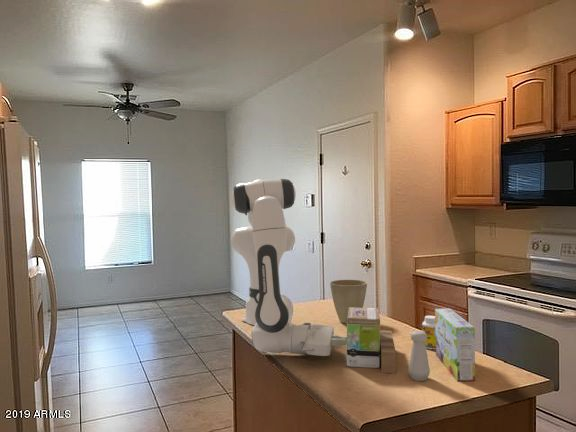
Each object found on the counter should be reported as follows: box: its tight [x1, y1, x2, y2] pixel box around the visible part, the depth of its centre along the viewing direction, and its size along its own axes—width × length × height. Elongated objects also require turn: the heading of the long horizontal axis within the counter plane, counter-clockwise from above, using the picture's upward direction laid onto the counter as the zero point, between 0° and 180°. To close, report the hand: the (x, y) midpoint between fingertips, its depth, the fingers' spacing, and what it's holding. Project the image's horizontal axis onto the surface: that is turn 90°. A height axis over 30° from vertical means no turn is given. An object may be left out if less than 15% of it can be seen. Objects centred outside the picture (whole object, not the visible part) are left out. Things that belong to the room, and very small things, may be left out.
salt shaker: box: [407, 330, 431, 382], centre depth 129 cm, size 6×6×13 cm
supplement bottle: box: [421, 315, 436, 350], centre depth 156 cm, size 6×6×10 cm
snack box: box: [434, 308, 476, 382], centre depth 137 cm, size 21×6×15 cm, turn 178°
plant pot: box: [329, 279, 368, 325], centre depth 189 cm, size 15×15×16 cm
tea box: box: [346, 307, 381, 369], centre depth 145 cm, size 15×10×15 cm
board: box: [380, 329, 397, 374], centre depth 144 cm, size 22×4×6 cm, turn 171°
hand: (346, 340), depth 146 cm, fingers closed
